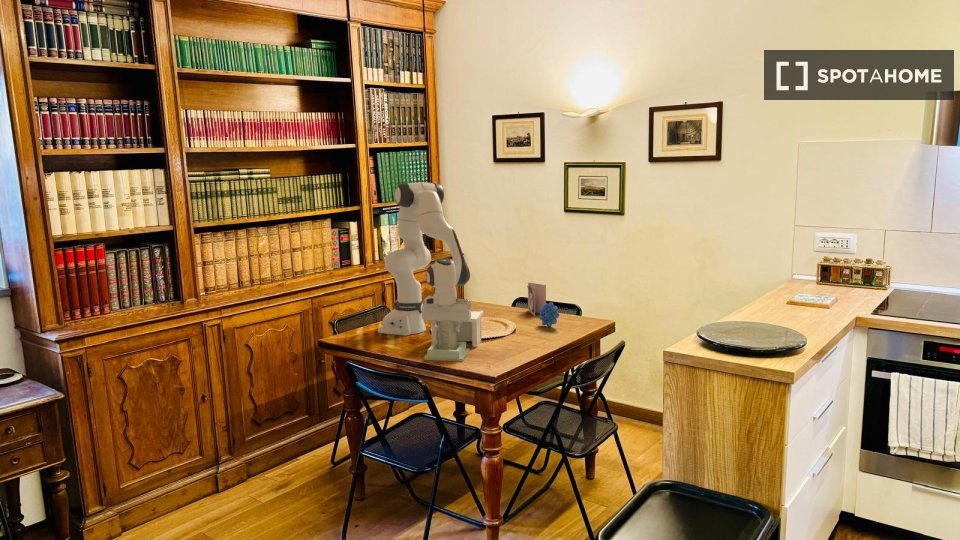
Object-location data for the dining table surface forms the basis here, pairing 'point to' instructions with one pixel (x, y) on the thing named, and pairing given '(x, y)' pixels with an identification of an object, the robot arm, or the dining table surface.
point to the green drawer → (447, 352)
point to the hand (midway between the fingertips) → (447, 331)
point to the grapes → (548, 314)
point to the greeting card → (536, 297)
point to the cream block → (465, 330)
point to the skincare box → (447, 335)
